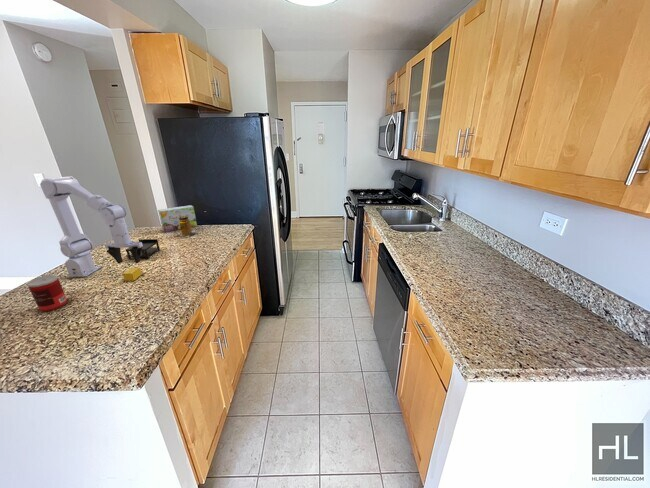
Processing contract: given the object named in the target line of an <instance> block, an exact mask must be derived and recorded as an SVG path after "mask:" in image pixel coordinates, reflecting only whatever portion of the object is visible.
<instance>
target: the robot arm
mask: <svg viewBox="0 0 650 488" xmlns="http://www.w3.org/2000/svg"><path fill="white" fill-rule="evenodd" d="M39 186H40V188H41V191H42V192H43V195H44V197H45V199H47V200H48V201H49V203H50V206H51V208H52V210H53V213H54V215H55V217H56V220H57V221H58V223H59V226H60V228H61V231H62V233H63V237H62V238H61V239H60V240H59V241H58V243H59V246H60V247H59V248H60V252H61V254H62V255H63V256H64V257H67V258H68V259H67V260H65V263H64V266H65V268H66V271H67V273H68V275H67V278H85V277H88V276H90V275H91V274H94V272H96V271H97V270H100V269H101V268H102V266H96V264H95V262H94V259H93V257H92V254H91V253H92V251H93V248H94V244H93V241H92V240H90V237H89V236H88V235H87V234H84V233H81V231H80V229H79V227H78V224H77V221H76V220H75V217H74V215H73V212H72V210H71V207H70V205H69V201H68V200H67V199H68V198H69V196H70V195H74V196H75V197H77V198H79V199H81V200H83V201H85V202H86V204H87V206H88V207H90V208H91V209H93V210H95V211H96V212H97V213H99V214H100V216H101V218H102V219H103V220H104V221H105V224H106V225H107V226H108V228H109V231H110V234H111V238H112V240H113V242H107V243H104V244H103V245H104V248H105V249H106V253H107V254H109V255H110V256H111V257H112V258H113V259H114V260H115V262H116V263H117V264H118V265H120V264H121V263H124V261H123V256H122V253H121V249H128V248H129V247H132V249H130V250H129V253H130V255H131V254H132V255H133V257H132V258H133V260H134V262H135V264H139V263H140V262H141V257H140V254H141V250H142V246H143V245H142V242H139V241H133V240H132V239H131V236H130V233H129V229H128V226H127V223H126V220H125V217H126V216H127V210H126V209H125V207H124V206H123V205H121V204H120V203H112V202H111V201H109V200H107V199H106V198H104V197H103V196H102V195H100V194H93V193H92V192H90V191H89V190H87V189H86V188H84V187H83V186H81V185H80V182H79V180H78V179H76V178H75V177H73V176H72V175H67V176H61V177H52V178H43V179H42V180H41V181H40V184H39Z"/></svg>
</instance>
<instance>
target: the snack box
mask: <svg viewBox="0 0 650 488" xmlns="http://www.w3.org/2000/svg"><path fill="white" fill-rule="evenodd" d="M157 212H158V216H159V221H160V225H161V230H162V231H163V232H164V233H168V232H173V231H178V230H179V231H180V230H181V228H180V223H179V222H180V221H179V218H180V217H184V216H187V217H188V219H189V221H190V225H191V228H194V227H198V224H197V218H196V212H195V207H194V205H192V204H191V205H184V206H176V207H169V208H161V209H160V208H159V209H157Z"/></svg>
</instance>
